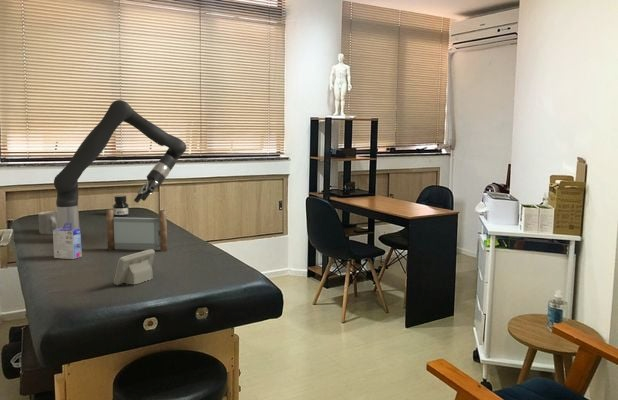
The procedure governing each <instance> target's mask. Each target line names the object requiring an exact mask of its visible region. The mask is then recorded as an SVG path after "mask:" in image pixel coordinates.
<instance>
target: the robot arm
mask: <svg viewBox="0 0 618 400" xmlns="http://www.w3.org/2000/svg"><path fill="white" fill-rule="evenodd" d="M123 122H124V123H126V124H127V125H128V124H129V125H131V127H134V128H135V129H136V130H138V131H139V132H141V133H142V134H143V135H144V136H146V138H148V139H150V140H151V141H153V142H154V143H155V144H157V145H158V146H161V147H167V150H166V152H165V153H164V155H162V157H161V158H160V159H159V161H158V162H157V163H156V164H155V165H154V166H153V167H152V169H151V170H150V171H149V173H148V174H147V175H146V179H147V182H146V183H144V184H143V185H142V186H141V187H140V189H139V190H138V192H137V195H136V196H135V197H134V199H133V201H134V202H135V203H137V204H138V203H139V202H140V201H144V202H145V201H146V200H147V199H148V197H149V195H151V194H153V193H154V192H155V190H156V188H157V187H161V186H162V184H163V182H164V181H165V180H166V178H167V177H168V176H169V174H170V172H171V171H172V170H173V168H174V166H175V164H176V163H177V162H178V160H179V159H180V158H181V157H182V155H183V154H184V153H186V151H187V145H186V142H184V141H183V140H182V139H180V138H179V137H176V136H174V135H173V134H169V133H168V132H167V131H165V130H164V129H162V128H161V127H159V126H157V125H156V124H154V123H153V122H151V121H150V120H148V119H146V118H145V117H143V116H142V115H141V114H140V113H138V112H136V111H135V110H134V108H132V106H130V104H129V103H128V102H126V101H125V100H122V99H117V100H114V101H113V102H112V103H110V105H109V107H108V108H107V110H106V112H105V114H104V116H103V117H102V119H101V120H100V121H99V122H98V123H97V124H96V126H94V128H93V129H92V130H91V131H90V132H89V133H88V134H87V136H86V137H85V138H84V140H82V142H81V144H80V145H79V146H78V147H77V149H76V151H75V152H74V154H73V156H72V157H71V159H70V161H69V162H68V163H67V164H66V165H65V167H63V168H62V170H61V171H59V173H58V174H56V176H55V177H54V179H53V187H54V188H55V190H56V201H55V203H56V206H55V207H56V211H57V221H58V222H56V229H58V228H63V227H64V224H65V223H72V227H71V228H74V229H80V215H79V182H78V180H79V178H80V177H81V176H82V175H83V173H84V171H85V170H86V169H87V168H88V167H89V166H90V165H91V164H92V163H94V162H95V161H96V159H98V157H99V156H100V155H101V153H103V151H104V150H105V148H106V146H107V145H108V143H109V141H110V139H111V138H112V136H113V134H114V132H115V131H116V130H117V128H118V127H119V126H120V125H121V124H122V123H123ZM65 226H68V227H70V225H65Z"/></svg>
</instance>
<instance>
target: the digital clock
mask: <svg viewBox="0 0 618 400" xmlns="http://www.w3.org/2000/svg"><path fill="white" fill-rule="evenodd" d="M155 253H156V252H155V250H154V249H146V250H142V251H140V252H134V253H131V254H127V255H125V256H122V257H120V258H119V259H118V262H117V266H116V270H115V276H114V279H113V284H114V285H115V284H121V285H123V284H122V283H130V284H138V283H141V282H144V281H146V282H148V281H147V280H149V281H151V279H152V280H153V279H154V277H153V267H152V266H153V262H154V258H155V255H156V254H155ZM144 283H145V282H144ZM141 284H142V283H141ZM138 285H139V284H138Z"/></svg>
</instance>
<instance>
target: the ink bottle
mask: <svg viewBox="0 0 618 400" xmlns="http://www.w3.org/2000/svg"><path fill="white" fill-rule="evenodd" d="M113 198H114V199H113V200H114V204H112V208H113V217H127V216H129V215H130V211H129V207H130V206H129V204H128V203H127V195H124V194H121V195H114V197H113Z"/></svg>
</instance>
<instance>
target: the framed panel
mask: <svg viewBox="0 0 618 400" xmlns="http://www.w3.org/2000/svg"><path fill="white" fill-rule="evenodd" d="M113 220H114V240H115V247H121V248H122V247H128V248H131V247H133V248H156V249H157V248H160V236H159V231H160V221H159V217H155V218H154V217H153V218H152V217H118V216H114V217H113Z"/></svg>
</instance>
